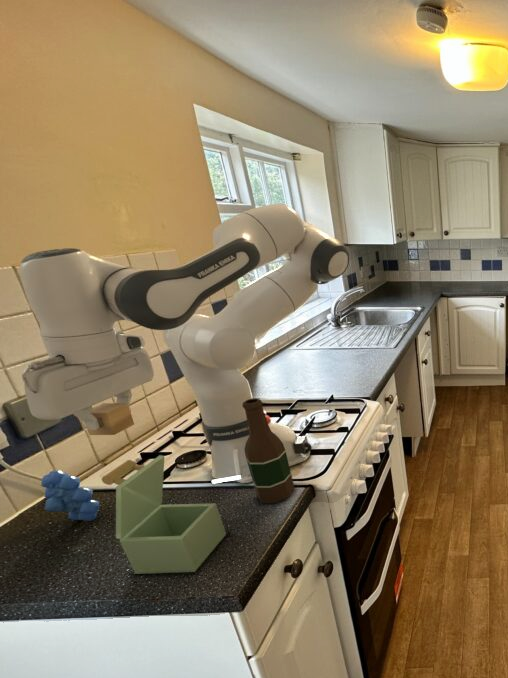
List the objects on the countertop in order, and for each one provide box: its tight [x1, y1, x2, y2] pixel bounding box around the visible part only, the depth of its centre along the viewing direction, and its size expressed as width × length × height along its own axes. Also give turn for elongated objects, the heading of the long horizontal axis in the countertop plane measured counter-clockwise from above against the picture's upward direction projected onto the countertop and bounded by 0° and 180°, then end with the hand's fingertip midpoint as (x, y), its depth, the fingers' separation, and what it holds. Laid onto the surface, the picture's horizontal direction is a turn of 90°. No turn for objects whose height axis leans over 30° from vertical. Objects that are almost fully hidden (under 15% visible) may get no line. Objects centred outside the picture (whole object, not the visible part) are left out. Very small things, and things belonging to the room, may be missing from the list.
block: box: [86, 402, 135, 436], centre depth 75 cm, size 4×4×4 cm
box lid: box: [101, 454, 165, 540], centre depth 73 cm, size 11×10×5 cm
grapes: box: [40, 470, 100, 522], centre depth 85 cm, size 12×7×12 cm, turn 77°
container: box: [119, 503, 227, 575], centre depth 78 cm, size 11×10×8 cm
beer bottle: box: [242, 397, 295, 504], centre depth 91 cm, size 8×8×24 cm
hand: (110, 421), depth 75 cm, fingers closed on block, 4 cm apart
